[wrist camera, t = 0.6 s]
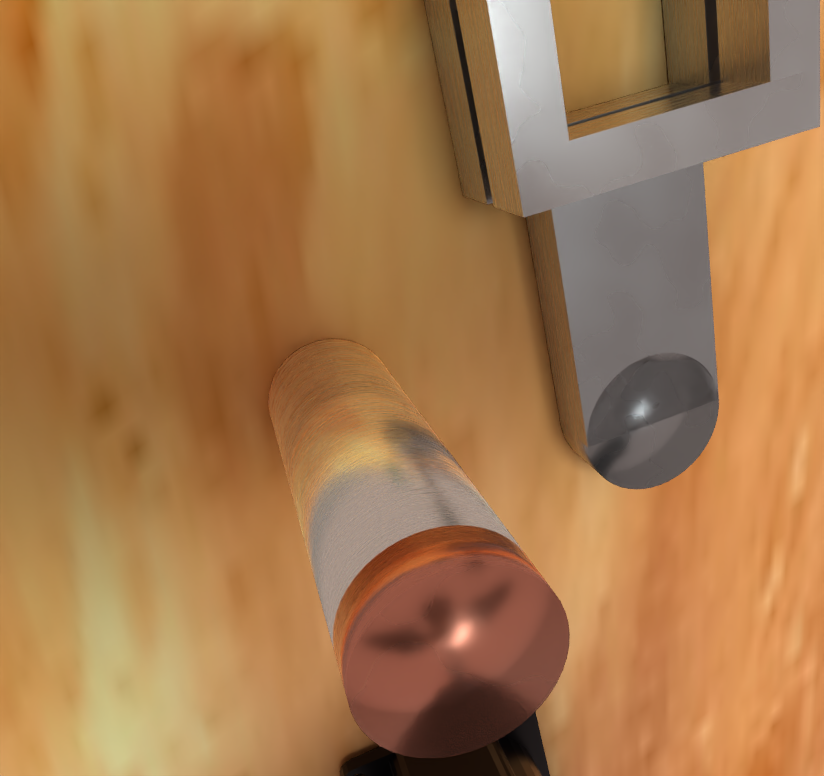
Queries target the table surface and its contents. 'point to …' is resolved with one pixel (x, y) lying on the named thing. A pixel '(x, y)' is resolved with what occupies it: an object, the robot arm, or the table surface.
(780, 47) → the strap
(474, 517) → the link pin
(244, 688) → the table surface
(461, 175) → the lower strap
